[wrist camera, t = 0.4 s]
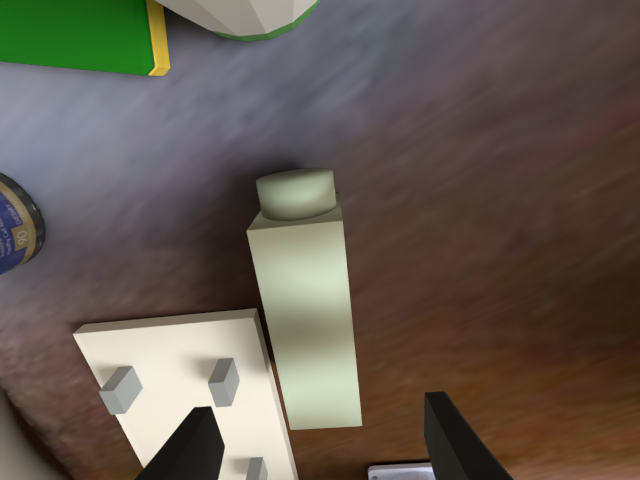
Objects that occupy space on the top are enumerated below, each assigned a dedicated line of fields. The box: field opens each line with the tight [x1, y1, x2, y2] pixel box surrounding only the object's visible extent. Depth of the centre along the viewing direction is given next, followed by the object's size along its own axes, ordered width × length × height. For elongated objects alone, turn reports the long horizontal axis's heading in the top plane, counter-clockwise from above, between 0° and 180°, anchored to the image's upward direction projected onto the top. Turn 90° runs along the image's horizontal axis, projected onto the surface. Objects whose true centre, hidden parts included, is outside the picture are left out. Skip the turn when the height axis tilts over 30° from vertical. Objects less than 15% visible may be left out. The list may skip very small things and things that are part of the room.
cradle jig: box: [73, 308, 299, 480], centre depth 22 cm, size 18×12×3 cm, turn 7°
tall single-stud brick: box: [247, 168, 362, 430], centre depth 17 cm, size 14×4×5 cm, turn 7°
